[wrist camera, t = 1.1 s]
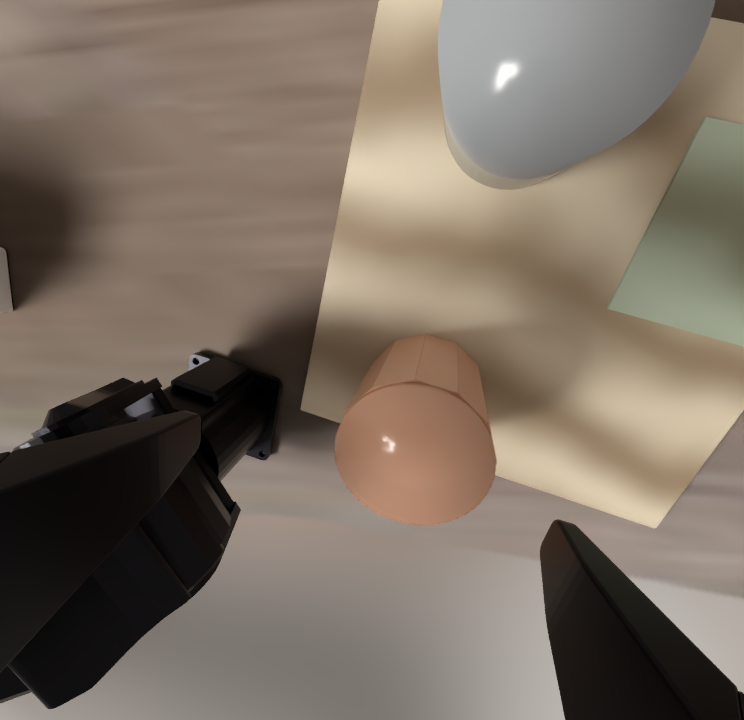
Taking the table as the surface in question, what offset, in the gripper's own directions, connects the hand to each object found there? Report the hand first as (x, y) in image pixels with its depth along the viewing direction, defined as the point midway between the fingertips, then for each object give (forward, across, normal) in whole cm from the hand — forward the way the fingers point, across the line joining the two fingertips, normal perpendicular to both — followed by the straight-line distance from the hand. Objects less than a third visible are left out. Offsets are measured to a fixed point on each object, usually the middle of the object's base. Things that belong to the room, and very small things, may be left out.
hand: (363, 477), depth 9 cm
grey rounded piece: (+12, -2, -11) cm, 17 cm away
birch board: (+13, -6, -4) cm, 15 cm away
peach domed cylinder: (+12, -1, +3) cm, 12 cm away
